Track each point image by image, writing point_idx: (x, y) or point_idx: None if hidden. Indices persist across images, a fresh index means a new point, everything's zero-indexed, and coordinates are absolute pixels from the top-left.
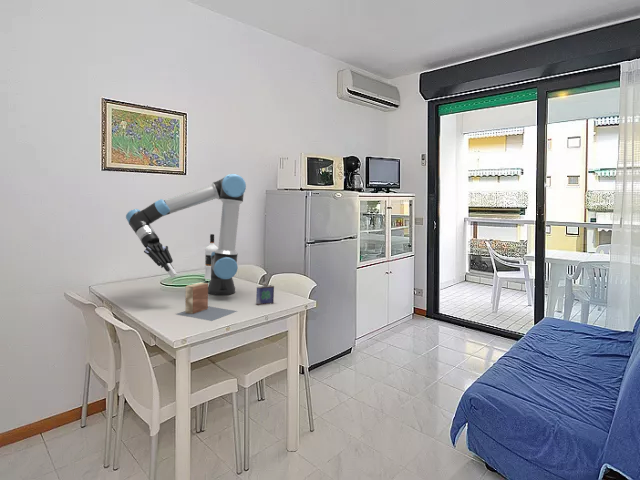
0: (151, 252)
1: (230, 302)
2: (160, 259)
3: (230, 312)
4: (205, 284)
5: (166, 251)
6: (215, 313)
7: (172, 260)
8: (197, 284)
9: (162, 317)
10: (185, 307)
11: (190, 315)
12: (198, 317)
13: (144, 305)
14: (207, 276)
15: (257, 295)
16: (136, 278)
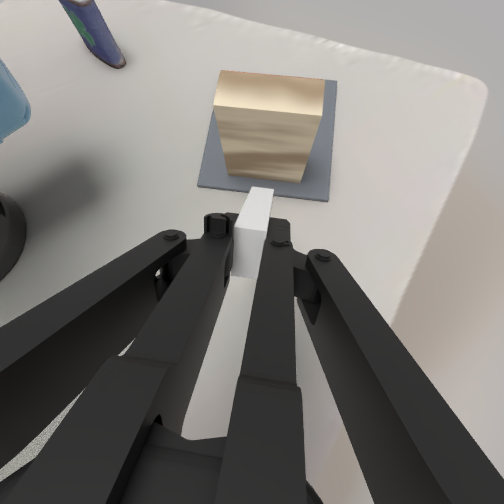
0: (467, 434)
1: (119, 139)
2: (319, 276)
3: None
4: (238, 73)
5: (36, 355)
6: None
7: (161, 234)
8: (264, 93)
9: (365, 221)
10: (302, 174)
11: (319, 153)
12: (326, 124)
13: None
14: None
15: (108, 31)
16: None
